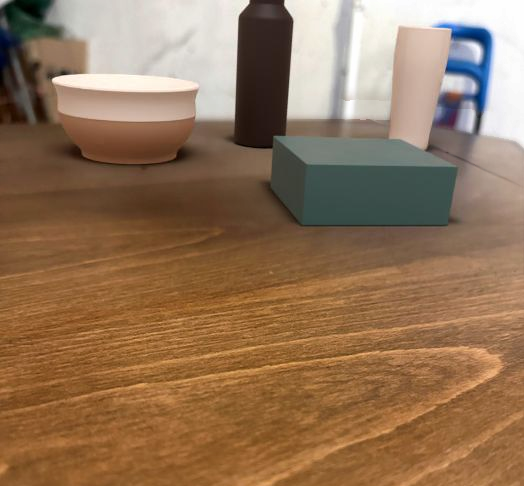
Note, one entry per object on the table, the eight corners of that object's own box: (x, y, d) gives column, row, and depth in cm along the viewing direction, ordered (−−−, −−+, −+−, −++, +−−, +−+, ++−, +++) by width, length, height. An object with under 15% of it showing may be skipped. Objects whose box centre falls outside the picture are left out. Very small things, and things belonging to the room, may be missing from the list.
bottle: (226, 144, 86) (231, -34, 77) (244, 137, 92) (251, -29, 83) (276, 150, 85) (287, -31, 76) (291, 142, 90) (303, -27, 81)
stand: (393, 189, 69) (400, 139, 67) (447, 225, 57) (458, 166, 55) (270, 187, 66) (273, 135, 64) (301, 225, 55) (306, 163, 53)
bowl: (67, 171, 68) (61, 88, 64) (50, 142, 81) (43, 72, 77) (217, 167, 73) (219, 90, 70) (178, 140, 87) (177, 75, 83)
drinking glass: (436, 149, 92) (457, 29, 85) (426, 156, 86) (447, 28, 80) (389, 143, 94) (405, 25, 88) (375, 149, 89) (391, 25, 82)
